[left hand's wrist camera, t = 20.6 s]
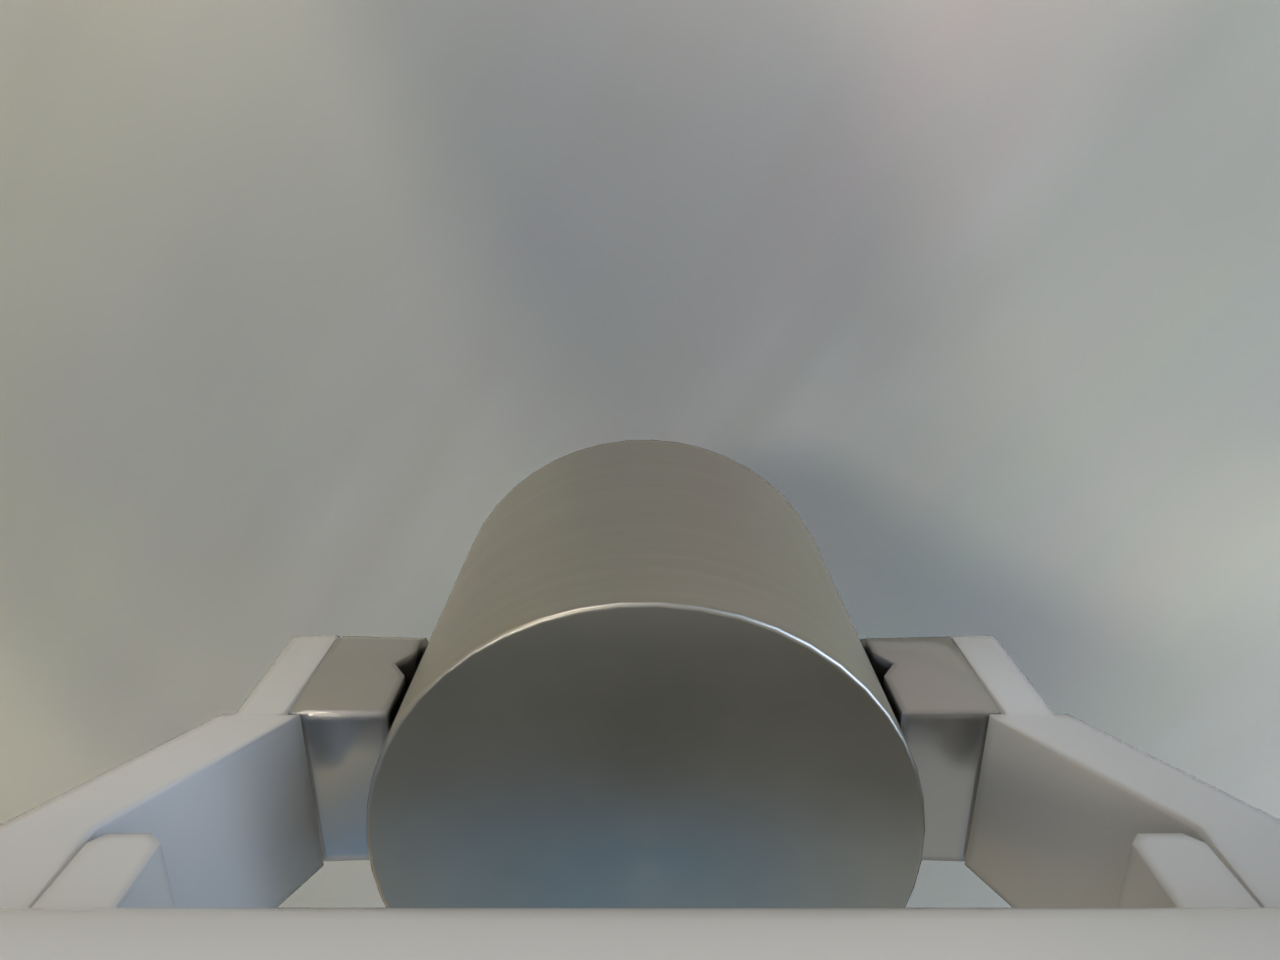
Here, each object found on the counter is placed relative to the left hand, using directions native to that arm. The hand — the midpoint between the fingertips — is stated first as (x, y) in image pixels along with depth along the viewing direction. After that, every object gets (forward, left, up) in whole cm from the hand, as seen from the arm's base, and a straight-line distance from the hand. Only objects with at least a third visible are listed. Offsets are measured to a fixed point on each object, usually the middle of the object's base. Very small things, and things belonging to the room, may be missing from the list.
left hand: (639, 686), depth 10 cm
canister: (0, 0, -2) cm, 2 cm away
